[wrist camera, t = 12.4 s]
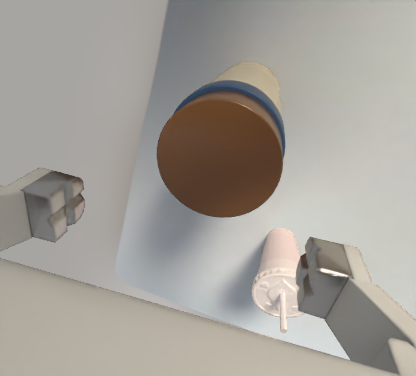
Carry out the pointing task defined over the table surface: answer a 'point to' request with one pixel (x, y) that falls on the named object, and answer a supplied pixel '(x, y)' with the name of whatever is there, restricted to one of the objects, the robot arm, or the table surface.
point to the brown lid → (221, 154)
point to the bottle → (248, 89)
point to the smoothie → (278, 277)
